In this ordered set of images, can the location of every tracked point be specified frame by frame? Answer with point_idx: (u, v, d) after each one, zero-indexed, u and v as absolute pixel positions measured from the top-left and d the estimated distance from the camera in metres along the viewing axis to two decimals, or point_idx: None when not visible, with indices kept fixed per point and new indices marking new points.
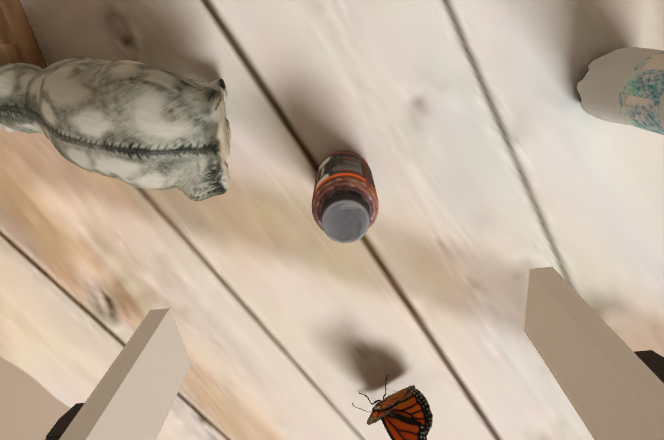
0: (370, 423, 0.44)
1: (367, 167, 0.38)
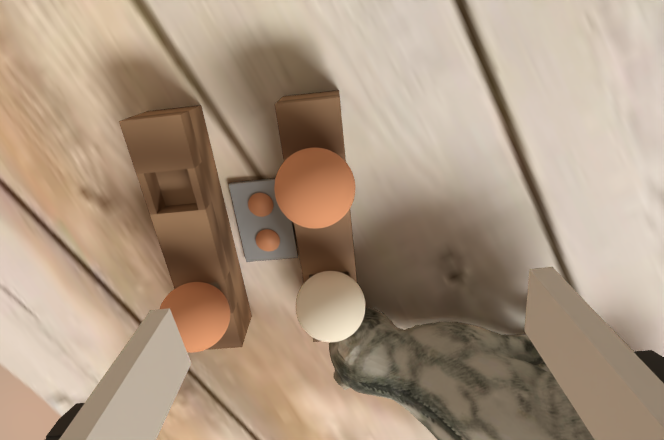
0: None
1: None
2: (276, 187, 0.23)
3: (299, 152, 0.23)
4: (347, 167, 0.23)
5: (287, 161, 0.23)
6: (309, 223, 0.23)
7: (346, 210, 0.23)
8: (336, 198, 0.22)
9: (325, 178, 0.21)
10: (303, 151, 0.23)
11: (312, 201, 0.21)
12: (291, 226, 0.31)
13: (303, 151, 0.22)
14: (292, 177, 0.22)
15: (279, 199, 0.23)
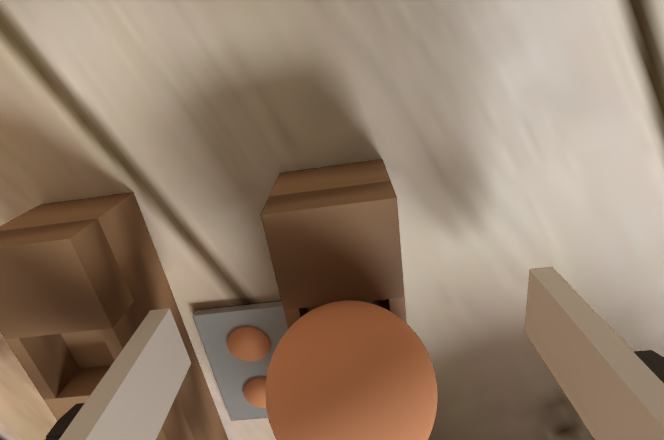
0: None
1: None
2: (268, 406, 0.10)
3: (317, 329, 0.10)
4: (423, 356, 0.10)
5: (291, 352, 0.10)
6: None
7: None
8: None
9: (383, 413, 0.09)
10: (325, 328, 0.10)
11: None
12: None
13: (326, 331, 0.10)
14: (302, 408, 0.09)
15: (276, 436, 0.10)
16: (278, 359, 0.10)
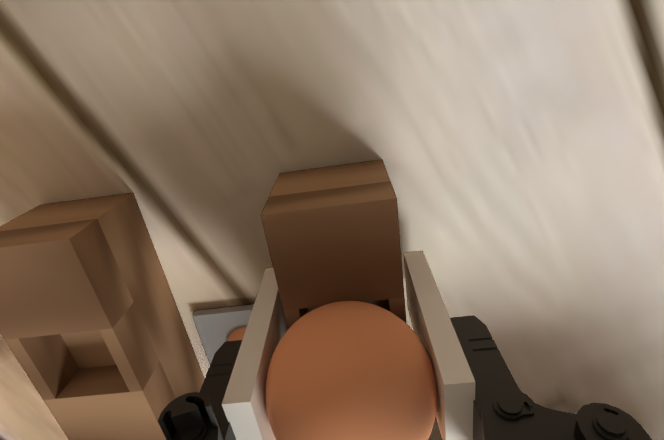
0: None
1: None
2: (268, 407, 0.10)
3: (316, 330, 0.10)
4: (423, 357, 0.10)
5: (291, 353, 0.10)
6: None
7: None
8: None
9: (383, 413, 0.09)
10: (325, 329, 0.10)
11: None
12: None
13: (326, 331, 0.10)
14: (302, 409, 0.09)
15: (276, 436, 0.10)
16: (278, 359, 0.10)
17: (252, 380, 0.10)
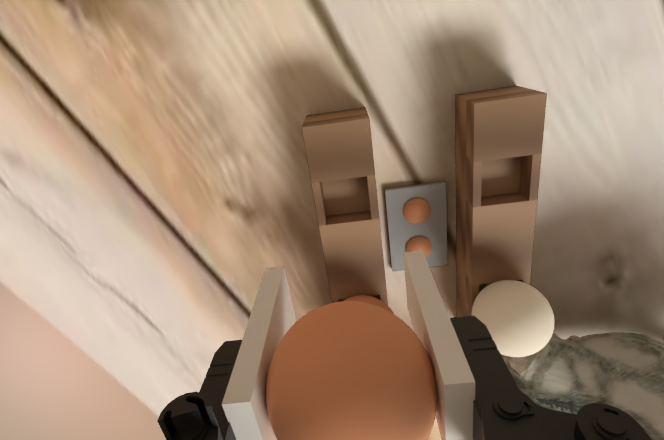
0: None
1: None
2: (268, 405, 0.10)
3: (316, 330, 0.10)
4: (422, 358, 0.10)
5: (291, 352, 0.10)
6: None
7: None
8: None
9: (381, 414, 0.09)
10: (325, 329, 0.10)
11: None
12: (445, 232, 0.29)
13: (325, 331, 0.10)
14: (301, 408, 0.09)
15: (275, 434, 0.10)
16: (278, 359, 0.11)
17: (252, 380, 0.10)
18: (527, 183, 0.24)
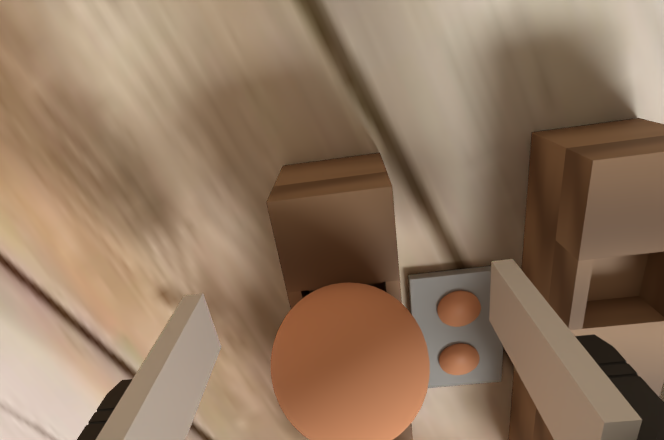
0: None
1: None
2: (273, 377, 0.11)
3: (318, 306, 0.11)
4: (415, 331, 0.11)
5: (294, 326, 0.11)
6: None
7: None
8: (400, 414, 0.10)
9: (378, 380, 0.10)
10: (326, 305, 0.11)
11: (350, 429, 0.10)
12: None
13: (326, 307, 0.11)
14: (304, 375, 0.10)
15: (280, 403, 0.11)
16: (282, 333, 0.11)
17: (123, 433, 0.09)
18: None
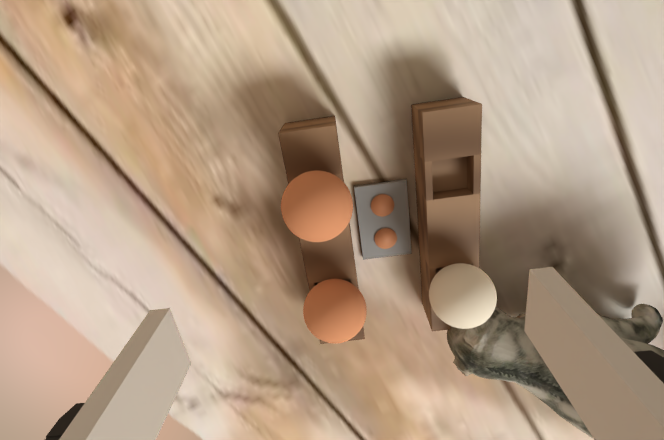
0: None
1: None
2: (282, 207, 0.26)
3: (302, 175, 0.26)
4: (344, 187, 0.26)
5: (291, 184, 0.26)
6: (313, 238, 0.25)
7: (345, 225, 0.26)
8: (336, 215, 0.25)
9: (326, 198, 0.24)
10: (305, 174, 0.26)
11: (315, 219, 0.24)
12: (408, 224, 0.34)
13: (305, 175, 0.25)
14: (296, 198, 0.25)
15: (285, 218, 0.26)
16: (286, 189, 0.26)
17: None
18: (472, 179, 0.28)
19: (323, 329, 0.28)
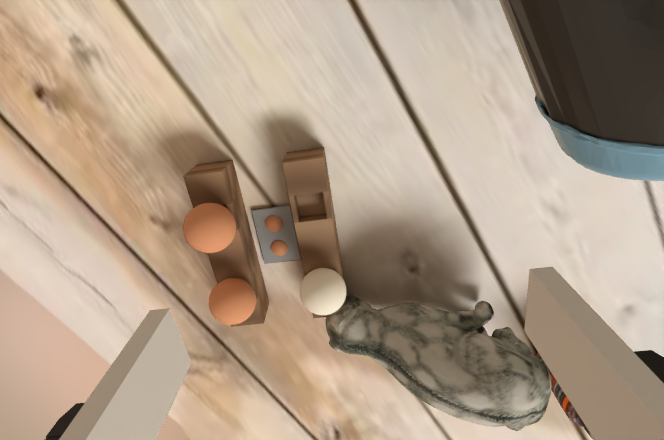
0: None
1: None
2: (183, 228, 0.37)
3: (196, 207, 0.37)
4: (226, 215, 0.37)
5: (189, 213, 0.37)
6: (203, 250, 0.37)
7: (227, 241, 0.37)
8: (217, 235, 0.36)
9: (208, 224, 0.36)
10: (198, 206, 0.37)
11: (201, 238, 0.36)
12: (295, 238, 0.45)
13: (198, 207, 0.37)
14: (189, 223, 0.36)
15: (185, 236, 0.37)
16: (186, 216, 0.37)
17: None
18: (325, 208, 0.40)
19: (218, 314, 0.40)
